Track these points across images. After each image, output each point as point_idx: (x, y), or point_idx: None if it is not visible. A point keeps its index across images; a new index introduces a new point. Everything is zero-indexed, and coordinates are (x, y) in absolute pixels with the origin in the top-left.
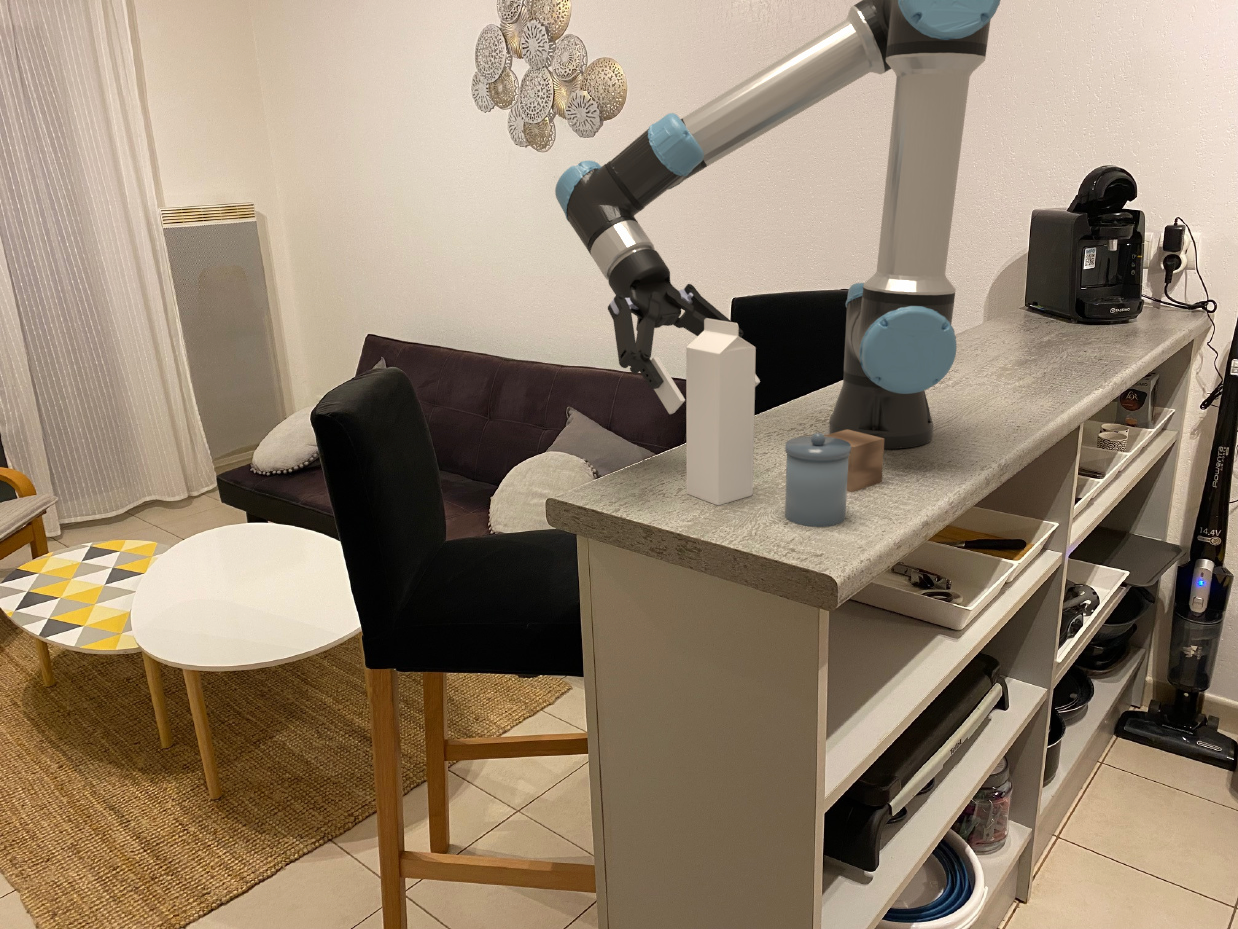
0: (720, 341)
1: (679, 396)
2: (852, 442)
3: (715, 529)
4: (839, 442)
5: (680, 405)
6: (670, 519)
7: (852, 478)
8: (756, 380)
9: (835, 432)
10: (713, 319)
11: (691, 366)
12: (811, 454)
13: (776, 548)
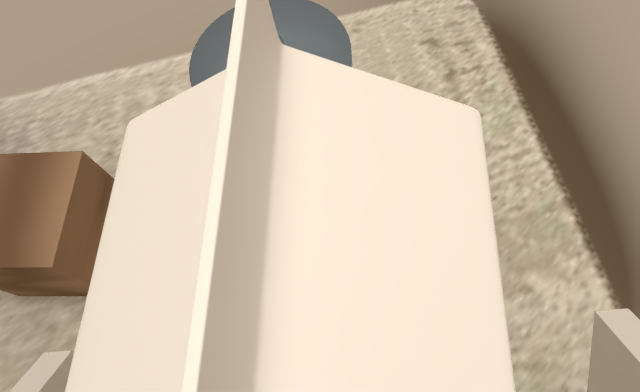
0: (371, 179)
1: (632, 327)
2: (47, 177)
3: (505, 217)
4: (218, 41)
5: (591, 350)
6: (559, 325)
7: None
8: (56, 359)
9: None
10: (193, 381)
11: None
12: (340, 23)
13: (468, 92)
